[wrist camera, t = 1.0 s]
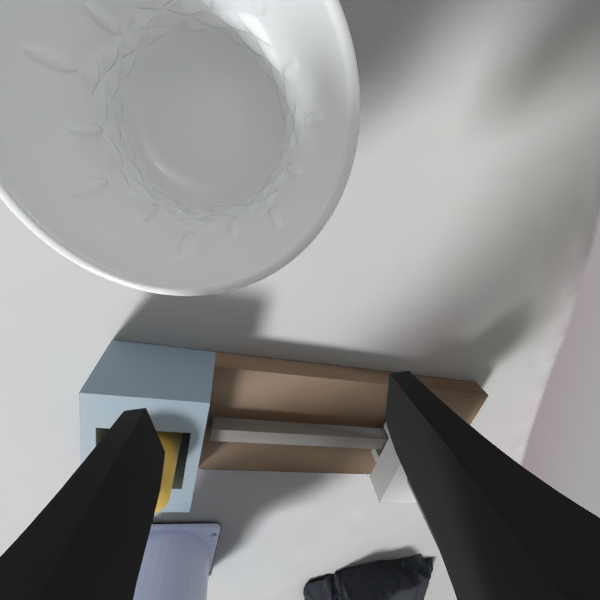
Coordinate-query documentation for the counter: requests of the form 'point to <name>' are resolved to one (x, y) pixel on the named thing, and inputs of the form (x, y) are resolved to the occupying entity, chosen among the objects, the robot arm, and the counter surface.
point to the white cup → (177, 133)
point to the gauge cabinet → (152, 402)
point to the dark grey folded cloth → (375, 581)
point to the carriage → (391, 477)
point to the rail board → (306, 415)
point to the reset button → (168, 465)
